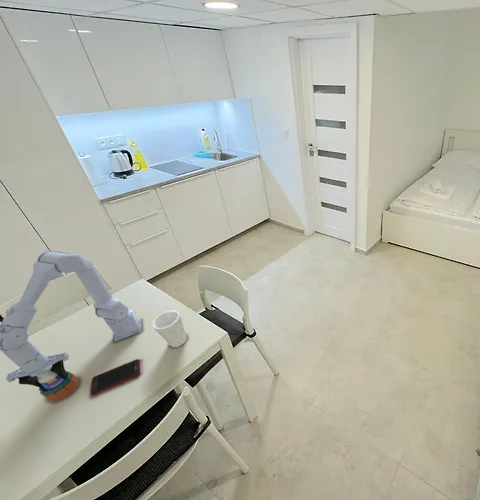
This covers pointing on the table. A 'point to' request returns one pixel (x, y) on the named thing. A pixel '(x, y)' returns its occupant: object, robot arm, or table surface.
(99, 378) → the cell phone
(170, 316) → the foam cup
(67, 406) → the table surface
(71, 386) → the orange and teal bowl
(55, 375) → the pill bottle
